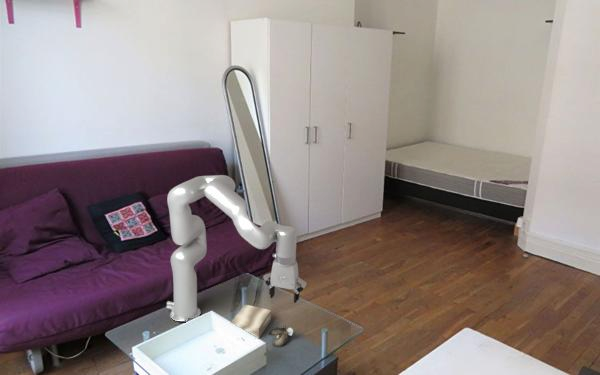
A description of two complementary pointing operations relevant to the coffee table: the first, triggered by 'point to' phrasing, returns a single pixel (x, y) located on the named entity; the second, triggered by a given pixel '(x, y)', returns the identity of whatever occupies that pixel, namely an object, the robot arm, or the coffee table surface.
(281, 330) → the eagle figurine
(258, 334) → the pedestal
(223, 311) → the coffee table surface
